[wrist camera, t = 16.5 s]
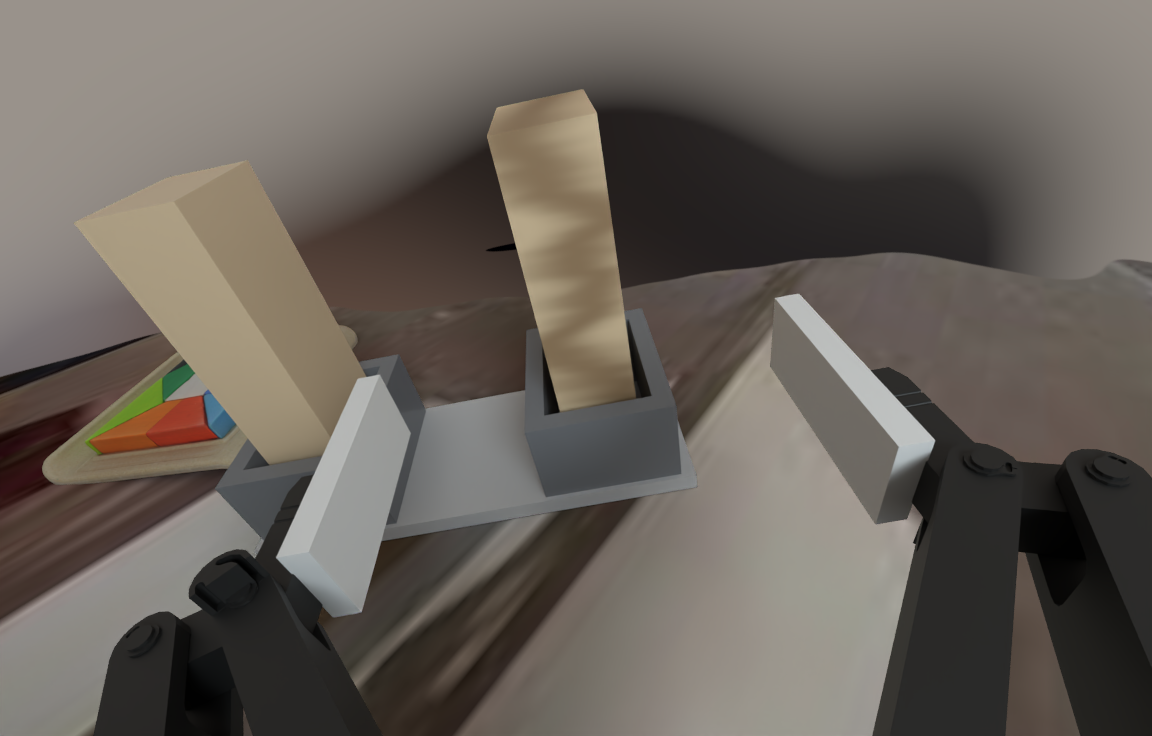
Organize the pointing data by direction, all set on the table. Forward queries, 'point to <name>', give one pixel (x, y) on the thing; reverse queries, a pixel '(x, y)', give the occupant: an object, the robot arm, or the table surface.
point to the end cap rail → (364, 374)
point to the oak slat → (566, 243)
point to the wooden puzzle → (154, 431)
